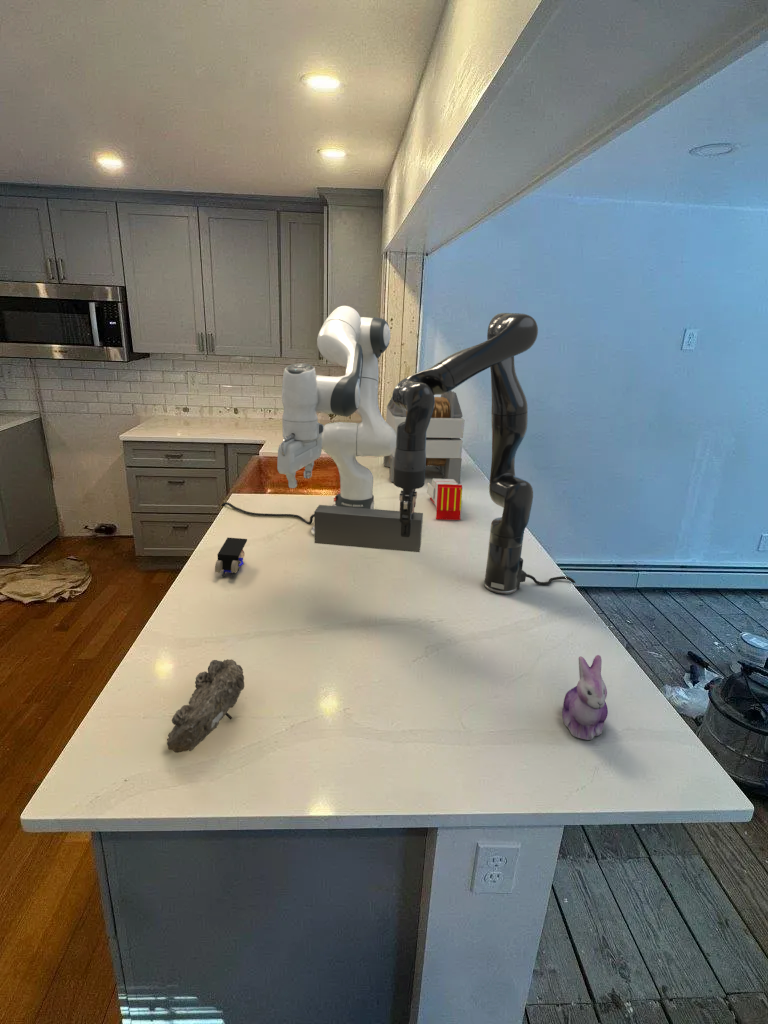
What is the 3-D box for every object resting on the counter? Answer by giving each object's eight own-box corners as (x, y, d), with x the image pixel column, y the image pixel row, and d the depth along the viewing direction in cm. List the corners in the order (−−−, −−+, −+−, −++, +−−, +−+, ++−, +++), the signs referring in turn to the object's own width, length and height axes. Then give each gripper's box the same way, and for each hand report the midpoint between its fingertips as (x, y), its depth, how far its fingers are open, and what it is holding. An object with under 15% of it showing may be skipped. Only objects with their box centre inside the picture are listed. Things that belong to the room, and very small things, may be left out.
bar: (314, 543, 143) (314, 511, 140) (319, 535, 147) (319, 504, 144) (419, 552, 139) (421, 520, 137) (421, 544, 144) (423, 512, 141)
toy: (454, 474, 240) (466, 486, 210) (452, 505, 242) (464, 521, 213) (426, 473, 239) (434, 485, 210) (424, 504, 242) (432, 520, 212)
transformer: (382, 463, 289) (386, 382, 275) (445, 464, 293) (451, 384, 279) (390, 482, 257) (394, 392, 243) (460, 483, 261) (468, 394, 247)
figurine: (586, 749, 104) (600, 681, 99) (547, 715, 112) (558, 650, 107) (622, 734, 108) (637, 668, 103) (582, 702, 117) (594, 639, 112)
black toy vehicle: (238, 584, 162) (249, 557, 175) (236, 562, 158) (247, 536, 172) (215, 584, 161) (227, 556, 175) (212, 561, 158) (225, 535, 171)
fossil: (192, 660, 117) (244, 628, 112) (224, 691, 120) (276, 661, 115) (142, 746, 98) (202, 712, 93) (182, 779, 101) (242, 748, 96)
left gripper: (294, 439, 133) (295, 495, 138) (326, 424, 152) (325, 474, 157) (270, 437, 135) (271, 492, 140) (304, 422, 154) (304, 471, 158)
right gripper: (423, 475, 128) (419, 544, 134) (427, 459, 141) (423, 523, 147) (390, 473, 129) (387, 542, 135) (397, 457, 142) (394, 520, 148)
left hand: (300, 482), depth 148 cm, fingers open, 8 cm apart
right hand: (406, 531), depth 141 cm, fingers closed on bar, 5 cm apart
